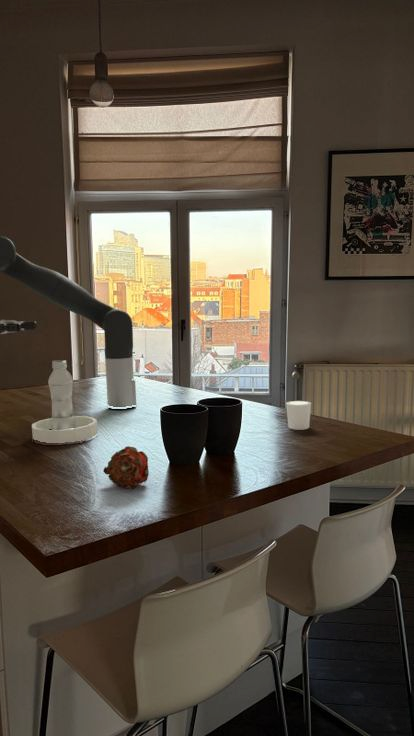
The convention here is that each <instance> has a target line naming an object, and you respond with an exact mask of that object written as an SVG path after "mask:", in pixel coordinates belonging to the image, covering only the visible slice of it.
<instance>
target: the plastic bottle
mask: <svg viewBox="0 0 414 736" xmlns="http://www.w3.org/2000/svg"><path fill="white" fill-rule="evenodd" d="M51 363H52V364H51V365H52V369H53V370H52V372H51V374H50V376H49V377H48V387H49V392H50V393H49V394H50V399H51V418H52V419H51V429H52V430H62V429H72V428H75V425H76V422H75V417H74V416H75V415H74V408H73V400H72V399H73V388H74V387H73V386H74V379H73V376H72V374H71V372H69V370H67V368H68V365H67V360H65V359H64V360H63V359H60V360H59V359H58V360H52V362H51Z"/></svg>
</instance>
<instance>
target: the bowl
mask: <svg viewBox="0 0 414 736" xmlns="http://www.w3.org/2000/svg"><path fill="white" fill-rule="evenodd" d="M74 417H75V422H76V425H75V428H72V429H62V430H49V429H51V419H52V417H51V418H46V419H41V420H38V421H36V422H34V423H32V424H31V431H32V435H31V436H32V440H33V439H34V440H38V441H40V442H46V443H65V442H75V441H81V440H85V439H88V438H92V437H93V436H95V435H96V434H97V433H98V434H99V432H98V431H99V427H98V420H97V419H96V418H95V417H92V416H91V417H90V416H85V415H74Z"/></svg>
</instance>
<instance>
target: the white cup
mask: <svg viewBox="0 0 414 736" xmlns="http://www.w3.org/2000/svg"><path fill="white" fill-rule="evenodd" d="M285 406H286V415H287V425H288V428H289V429H291V430H295V431H296V430H298V431H300V430H301V431H302V430H303V431H304V430H307V429H309V428H310V421H311V420H310V419H311V412H312V411H311V409H312V402H311V401H309V400H291V401H287V402H285Z"/></svg>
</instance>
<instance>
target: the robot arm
mask: <svg viewBox="0 0 414 736" xmlns="http://www.w3.org/2000/svg"><path fill="white" fill-rule="evenodd" d="M0 273H1V274H3V275H5V276H7V277H10V278H12V279H14V280H16V281H18V282H20V283H22V284H23V285H24V286H26V287H27V288H29V289H30V290H32V291H34V292H36V293H37V294H39V295H40V296H41V297H44V299H47V300H49V302H51V303H54V304H56V305H57V306H59V307H61V308H62V309H64V310H67V311H69V312H71V313H74V314H76V315H79V316H81V317H83V318H86V319H87V320H88V321H91V323H93V324H95V325H96V326H98V327H99V328H100V329H101V330H103V333H104V334H103V335H104V362H105V363H104V365H105V379H106V382H105V383H106V397H107V398H106V399H107V403H106V404H107V406H108V405H109V406H113V407H126V406H132V405H136V406H137V393H136V379H135V376H134V359H133V358H134V357H133V355H134V354H133V352H134V351H133V350H134V333H133V331H134V330H133V320H132V318H131V316H130V315H129V313H128V312H126V311H125V310H123V309H119V308H116V307H112V306H111V305H109V304H108V303H105V302H103V301H101V300H99V299H98V298H96V297H95V296H93V295H92V294H91V293H90V292H88V291H87V290H86V289H85V288H83V287H82V286H80V285H79V284H78V283H76V282H75V281H73V280H72V279H70V278H69V277H66V276H65V275H63V274H61V273H60V272H58V271H56V270H53V269H49V268H47V267H43V266H40V265H38V264H35V263H33V262H31V261H29V260H28V259H26V258H24V257H23V256H21V255H20V254H19V253H18V252H17V250H16V246H15V244H14V242H13V241H12V240H11V239H10V238H8V237H6V236H0ZM37 325H38V324H37V321H26V320H21V321H20V320H19V321H17V320H15V319H11V320H9V319H7V320H6V319H0V335H3V334H5V335H6V334H8V333H18V332H19V333H20V332H22V331H26V330H28V331H29V330H30V331H31V330H37V329H38V326H37Z"/></svg>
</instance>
